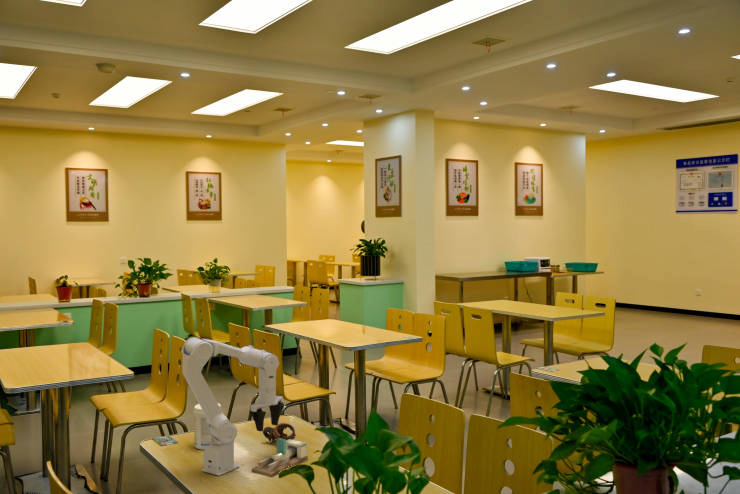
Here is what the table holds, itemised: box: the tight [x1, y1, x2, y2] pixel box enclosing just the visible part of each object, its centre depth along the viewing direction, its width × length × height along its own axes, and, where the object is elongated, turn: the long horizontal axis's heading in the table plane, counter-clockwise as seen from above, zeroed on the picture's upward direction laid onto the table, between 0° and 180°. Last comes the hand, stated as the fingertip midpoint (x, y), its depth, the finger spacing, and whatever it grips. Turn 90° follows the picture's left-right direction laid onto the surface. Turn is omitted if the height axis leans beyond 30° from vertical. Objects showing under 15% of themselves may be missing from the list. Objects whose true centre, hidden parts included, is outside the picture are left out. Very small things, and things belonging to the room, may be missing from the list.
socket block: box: [286, 439, 308, 459], centre depth 217 cm, size 3×7×4 cm, turn 58°
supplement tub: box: [193, 402, 222, 451], centre depth 228 cm, size 10×10×15 cm
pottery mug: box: [262, 422, 296, 442], centre depth 232 cm, size 12×10×8 cm
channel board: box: [251, 455, 309, 478], centre depth 210 cm, size 19×8×3 cm, turn 148°
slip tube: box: [270, 438, 297, 463], centre depth 213 cm, size 12×3×7 cm, turn 148°
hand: (267, 427), depth 216 cm, fingers open, 7 cm apart
